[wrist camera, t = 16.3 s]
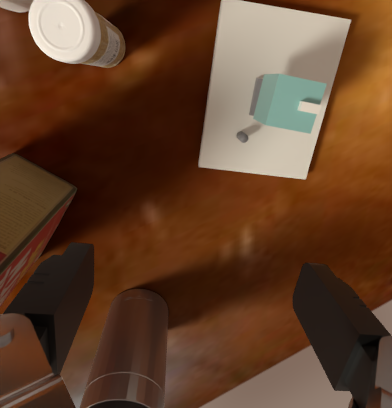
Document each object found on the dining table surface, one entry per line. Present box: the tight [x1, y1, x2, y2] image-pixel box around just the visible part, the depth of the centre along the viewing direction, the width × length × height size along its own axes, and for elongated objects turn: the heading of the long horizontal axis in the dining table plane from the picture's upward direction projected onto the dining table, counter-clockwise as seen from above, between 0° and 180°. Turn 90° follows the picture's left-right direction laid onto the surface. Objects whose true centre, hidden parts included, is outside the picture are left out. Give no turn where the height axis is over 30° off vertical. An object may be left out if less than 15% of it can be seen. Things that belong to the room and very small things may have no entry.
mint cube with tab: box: [253, 74, 327, 134], centre depth 29 cm, size 4×4×6 cm
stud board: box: [198, 0, 351, 179], centre depth 34 cm, size 18×14×5 cm
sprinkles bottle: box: [29, 0, 125, 68], centre depth 27 cm, size 5×5×13 cm
